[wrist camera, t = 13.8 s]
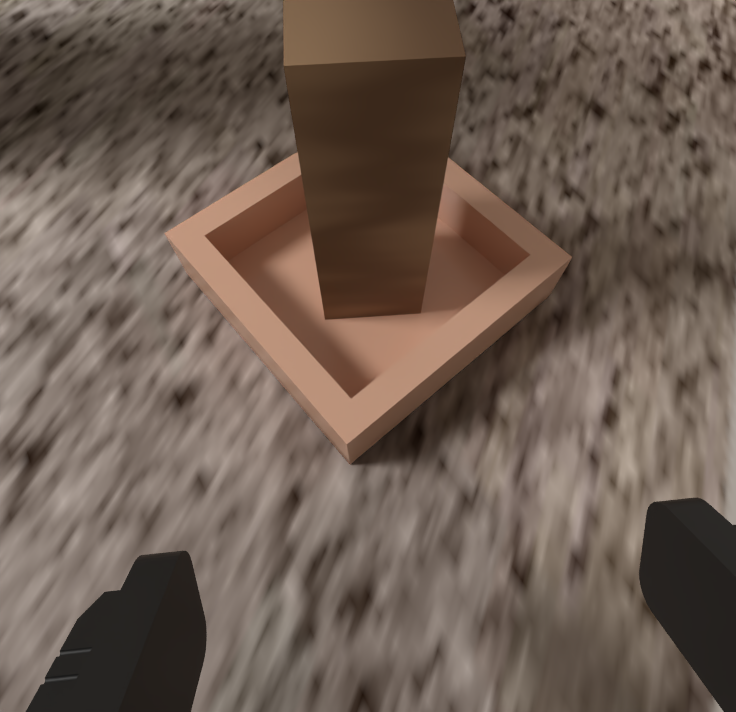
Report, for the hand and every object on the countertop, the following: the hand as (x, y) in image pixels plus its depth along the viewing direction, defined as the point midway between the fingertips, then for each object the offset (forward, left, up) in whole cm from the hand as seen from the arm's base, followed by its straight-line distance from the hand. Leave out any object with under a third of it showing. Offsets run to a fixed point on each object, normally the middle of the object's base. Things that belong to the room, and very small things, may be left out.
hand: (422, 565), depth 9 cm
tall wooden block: (-9, +6, -7) cm, 13 cm away
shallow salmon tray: (-9, +6, -7) cm, 13 cm away
